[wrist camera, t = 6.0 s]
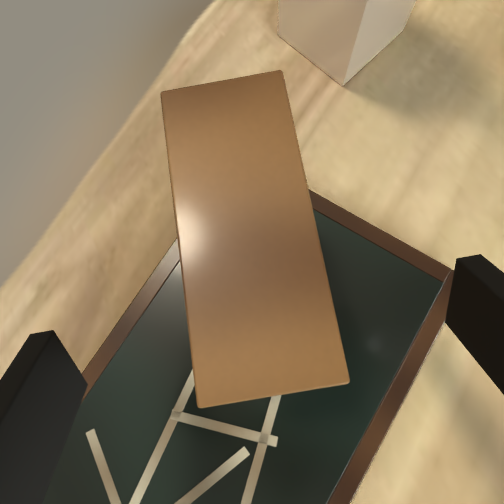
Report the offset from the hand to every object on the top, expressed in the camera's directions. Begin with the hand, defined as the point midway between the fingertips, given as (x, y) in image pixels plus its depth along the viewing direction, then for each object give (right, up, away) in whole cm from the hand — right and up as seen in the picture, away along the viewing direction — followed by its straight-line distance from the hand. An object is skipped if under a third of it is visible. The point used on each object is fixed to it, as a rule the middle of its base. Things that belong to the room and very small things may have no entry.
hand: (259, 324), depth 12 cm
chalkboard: (-1, -6, +9) cm, 10 cm away
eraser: (0, +1, +9) cm, 9 cm away
